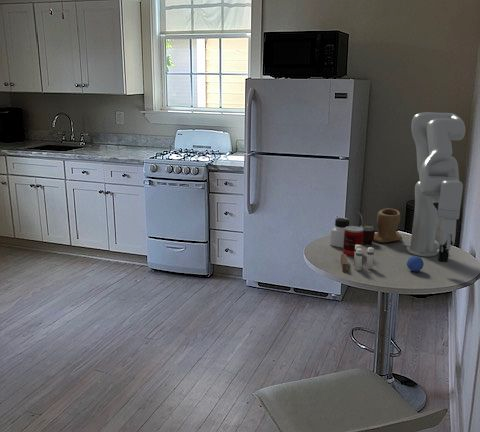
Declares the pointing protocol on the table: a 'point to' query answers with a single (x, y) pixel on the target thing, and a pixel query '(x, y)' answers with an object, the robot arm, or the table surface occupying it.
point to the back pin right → (355, 251)
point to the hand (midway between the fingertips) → (442, 261)
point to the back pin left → (358, 259)
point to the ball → (415, 263)
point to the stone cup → (387, 225)
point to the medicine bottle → (338, 232)
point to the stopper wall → (344, 262)
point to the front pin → (370, 258)
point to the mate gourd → (367, 233)
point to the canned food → (352, 239)
